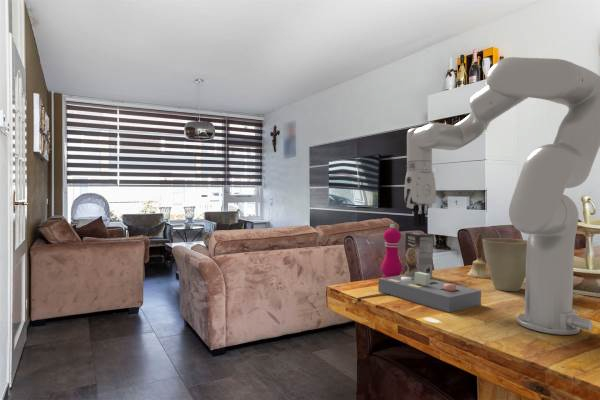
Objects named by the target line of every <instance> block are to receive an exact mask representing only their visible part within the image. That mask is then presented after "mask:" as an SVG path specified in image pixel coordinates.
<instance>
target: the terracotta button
mask: <svg viewBox="0 0 600 400" xmlns="http://www.w3.org/2000/svg"><path fill="white" fill-rule="evenodd" d="M456 285H457V284H455V283H449V282H446V283H445V284H444V291H448V292H456Z"/></svg>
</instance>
